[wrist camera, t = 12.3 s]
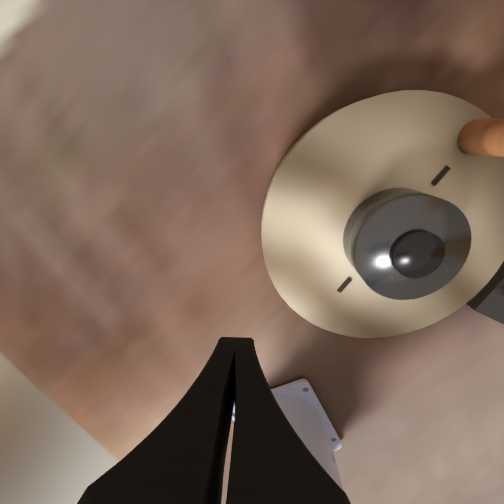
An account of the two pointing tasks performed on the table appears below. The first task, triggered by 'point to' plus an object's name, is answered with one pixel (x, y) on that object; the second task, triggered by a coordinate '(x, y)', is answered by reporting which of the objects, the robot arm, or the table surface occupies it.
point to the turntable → (370, 182)
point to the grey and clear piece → (491, 297)
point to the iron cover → (406, 242)
